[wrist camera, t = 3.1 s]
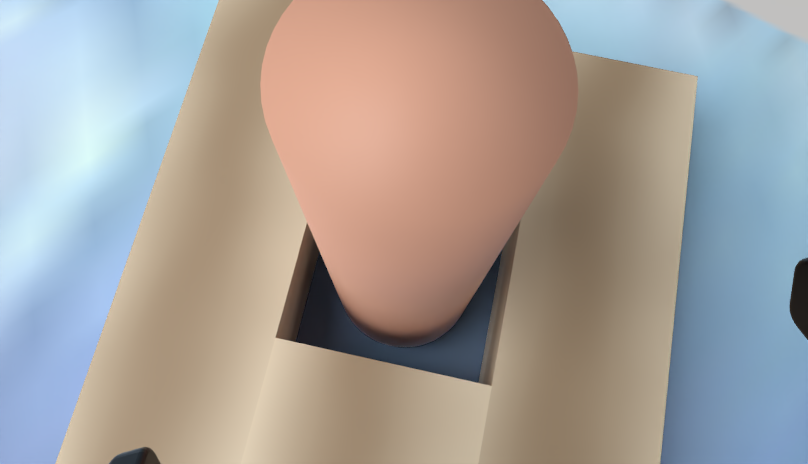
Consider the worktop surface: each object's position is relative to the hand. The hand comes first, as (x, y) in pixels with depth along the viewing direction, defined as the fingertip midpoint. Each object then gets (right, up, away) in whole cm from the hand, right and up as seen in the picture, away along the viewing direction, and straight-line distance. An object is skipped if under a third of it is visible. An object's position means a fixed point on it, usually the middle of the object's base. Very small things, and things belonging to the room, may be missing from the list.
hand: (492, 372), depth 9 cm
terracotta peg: (-1, 0, +11) cm, 11 cm away
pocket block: (-1, 0, +11) cm, 11 cm away
